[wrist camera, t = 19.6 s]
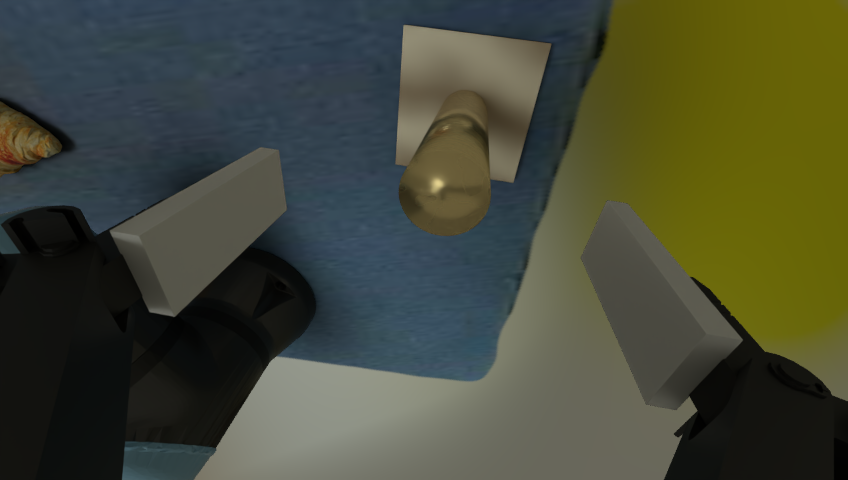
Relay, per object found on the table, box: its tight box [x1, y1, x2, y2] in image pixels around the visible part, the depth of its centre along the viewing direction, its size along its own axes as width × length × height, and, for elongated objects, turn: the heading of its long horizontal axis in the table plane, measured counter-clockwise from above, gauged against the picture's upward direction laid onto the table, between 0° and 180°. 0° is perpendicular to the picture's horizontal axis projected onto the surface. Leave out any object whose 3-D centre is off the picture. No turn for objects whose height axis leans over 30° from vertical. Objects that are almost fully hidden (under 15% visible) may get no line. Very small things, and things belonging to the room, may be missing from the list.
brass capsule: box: [399, 90, 491, 236], centre depth 21 cm, size 4×4×16 cm
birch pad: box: [396, 25, 551, 183], centre depth 28 cm, size 11×11×1 cm
